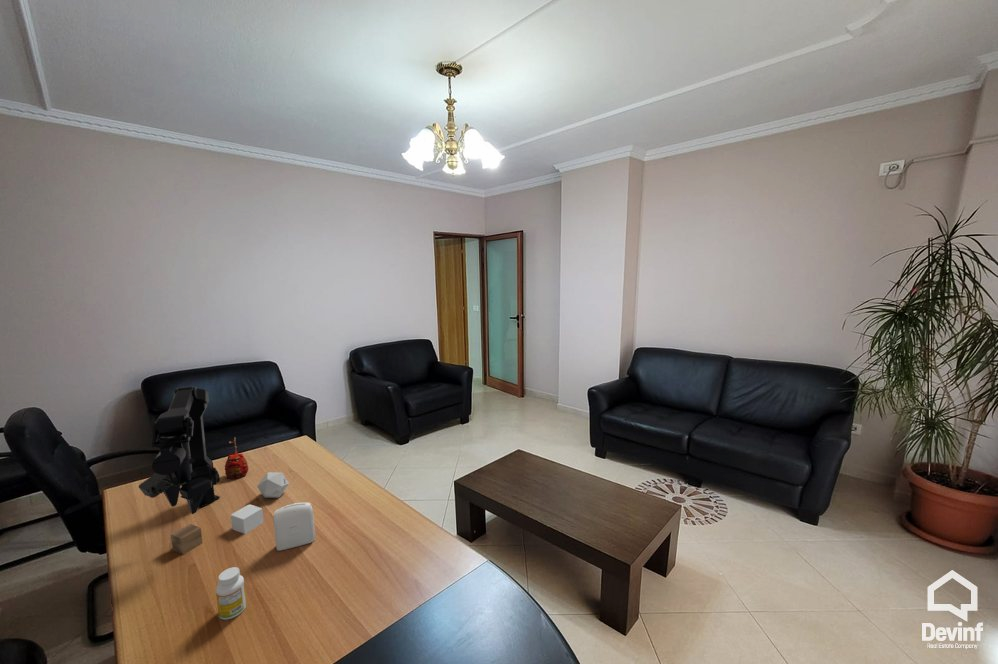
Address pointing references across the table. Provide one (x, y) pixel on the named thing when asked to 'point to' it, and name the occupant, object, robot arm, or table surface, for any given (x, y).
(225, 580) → the supplement bottle
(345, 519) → the table surface
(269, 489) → the die
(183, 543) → the brown cube
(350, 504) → the table surface
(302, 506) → the photo printer
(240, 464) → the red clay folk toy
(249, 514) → the grey block
